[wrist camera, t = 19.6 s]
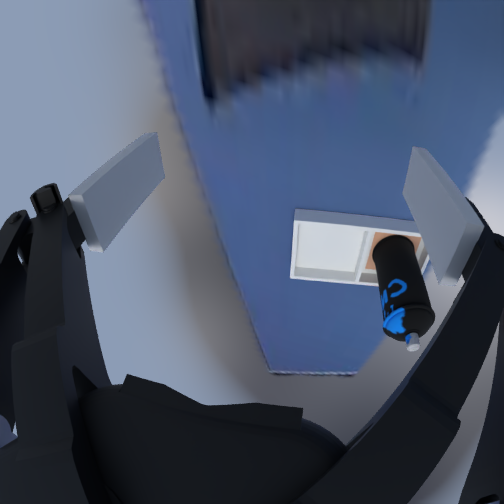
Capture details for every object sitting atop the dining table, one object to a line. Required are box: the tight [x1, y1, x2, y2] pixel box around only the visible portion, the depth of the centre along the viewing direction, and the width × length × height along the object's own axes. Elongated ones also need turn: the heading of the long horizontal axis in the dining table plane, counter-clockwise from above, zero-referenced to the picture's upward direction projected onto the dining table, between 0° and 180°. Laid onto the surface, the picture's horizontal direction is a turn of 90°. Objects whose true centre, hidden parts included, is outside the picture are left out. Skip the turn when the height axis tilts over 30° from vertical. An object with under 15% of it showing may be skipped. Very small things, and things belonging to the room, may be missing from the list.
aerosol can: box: [372, 235, 435, 351], centre depth 42 cm, size 8×8×20 cm
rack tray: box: [290, 209, 429, 286], centre depth 50 cm, size 25×13×4 cm, turn 92°
